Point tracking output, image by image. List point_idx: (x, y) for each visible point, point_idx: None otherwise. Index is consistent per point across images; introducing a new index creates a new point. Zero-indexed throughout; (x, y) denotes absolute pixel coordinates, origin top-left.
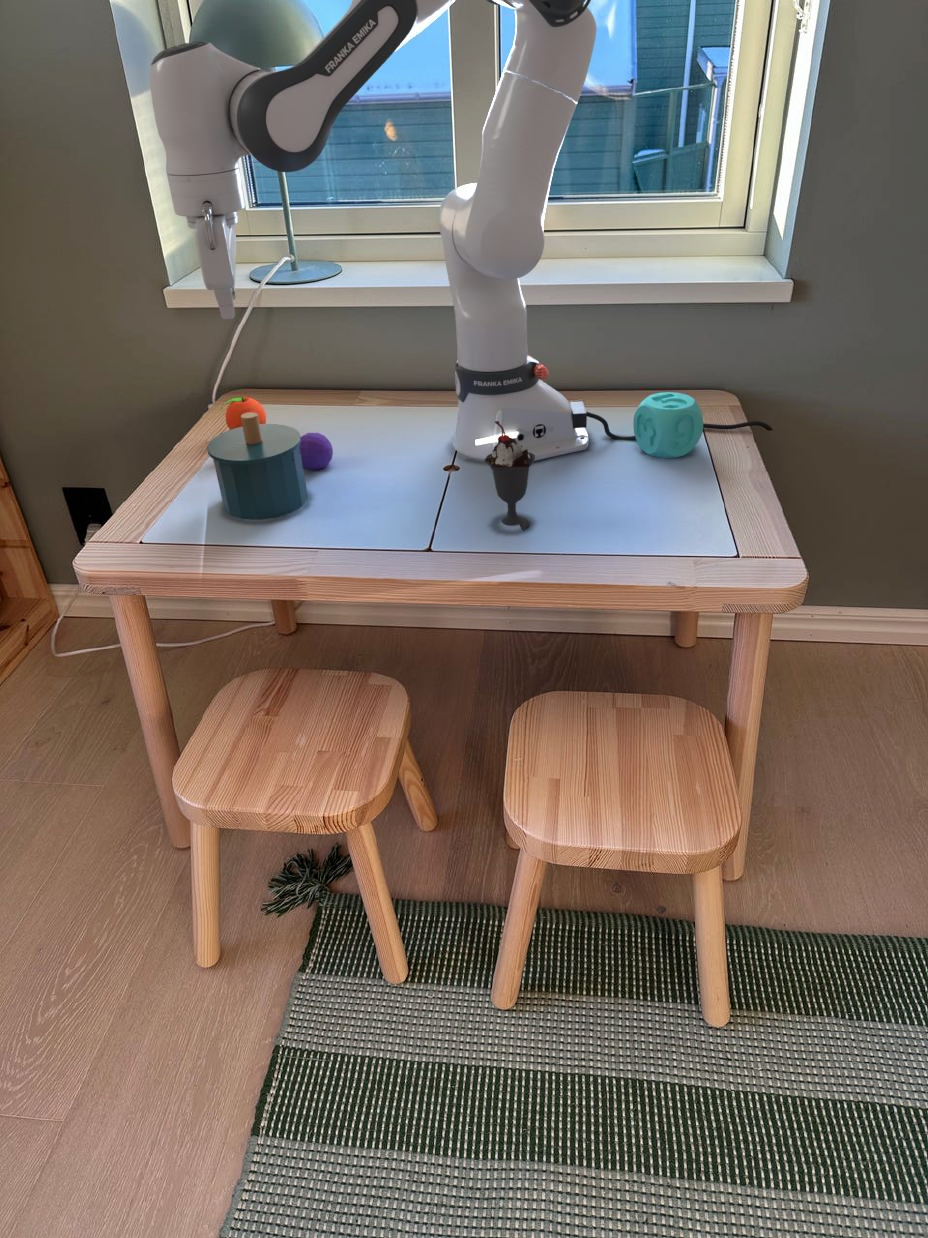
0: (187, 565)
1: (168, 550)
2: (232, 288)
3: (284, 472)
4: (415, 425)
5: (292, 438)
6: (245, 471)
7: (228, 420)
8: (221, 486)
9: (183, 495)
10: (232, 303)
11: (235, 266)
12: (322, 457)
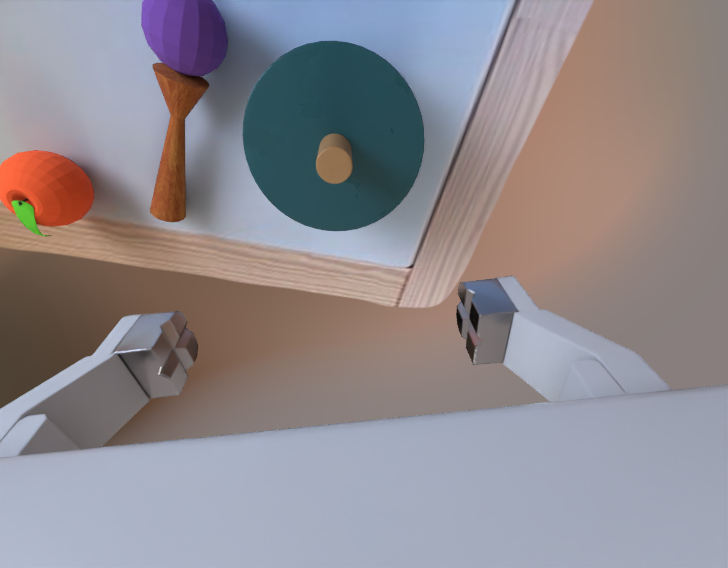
0: (483, 209)
1: (439, 236)
2: (160, 348)
3: None
4: None
5: (334, 61)
6: None
7: (79, 217)
8: None
9: (293, 243)
10: (551, 313)
11: (294, 445)
12: (215, 7)
